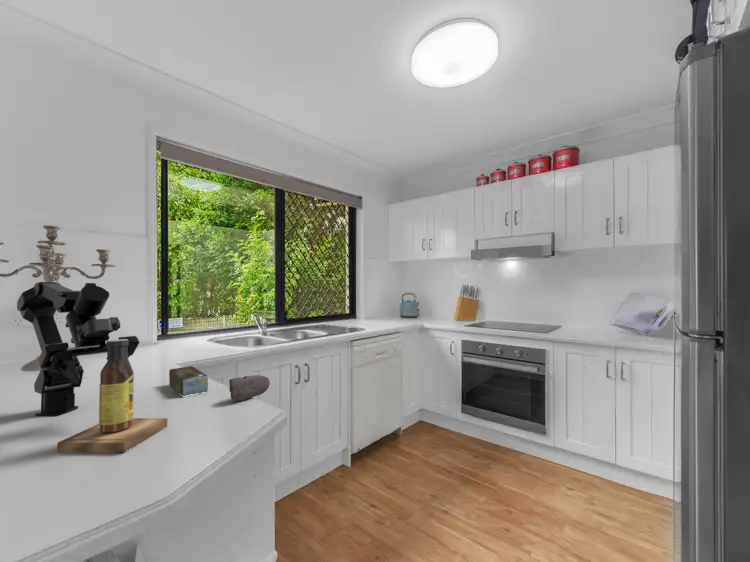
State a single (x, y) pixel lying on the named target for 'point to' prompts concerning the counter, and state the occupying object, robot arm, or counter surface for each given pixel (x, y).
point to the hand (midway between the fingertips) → (102, 377)
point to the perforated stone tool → (248, 387)
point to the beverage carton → (188, 380)
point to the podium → (112, 437)
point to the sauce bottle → (116, 389)
